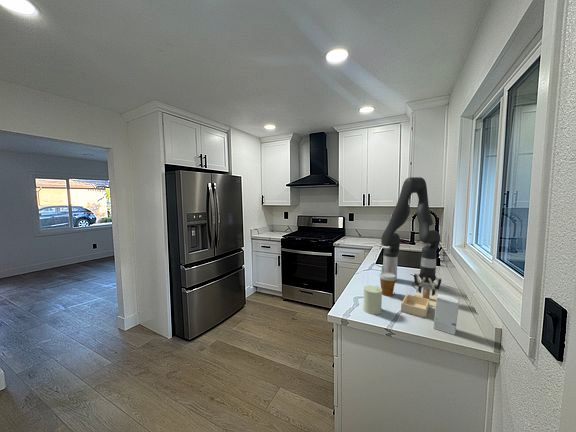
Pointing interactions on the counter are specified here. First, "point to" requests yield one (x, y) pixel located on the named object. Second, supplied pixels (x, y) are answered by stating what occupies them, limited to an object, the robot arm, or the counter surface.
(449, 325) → the skincare box
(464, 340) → the counter surface
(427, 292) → the lid
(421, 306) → the tan shallow open box
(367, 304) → the can
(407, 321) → the counter surface
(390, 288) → the disposable coffee cup
